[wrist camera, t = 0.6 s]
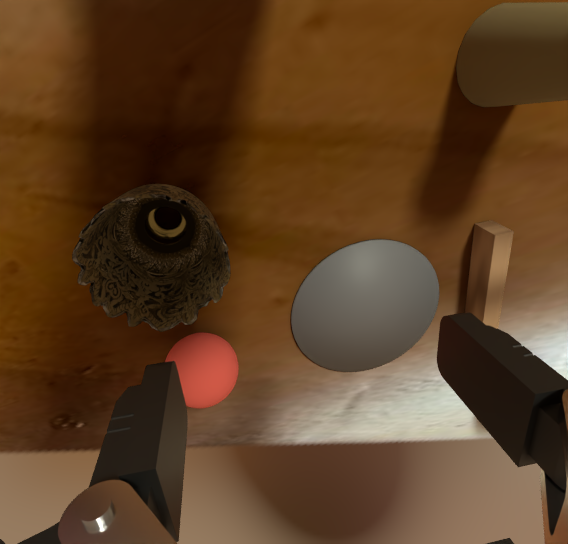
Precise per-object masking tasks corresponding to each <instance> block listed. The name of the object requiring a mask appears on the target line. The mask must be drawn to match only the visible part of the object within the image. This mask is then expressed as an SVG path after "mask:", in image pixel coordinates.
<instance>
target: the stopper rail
mask: <svg viewBox="0 0 568 544" xmlns="http://www.w3.org/2000/svg"><path fill="white" fill-rule="evenodd" d="M513 233H514V231H512V230H510V229H508V228H506V227H504V226H502V225H500V224H498V223H496V222H494V221H492V220H491V221H486V222H481V223H476V224H475V225H474V234H473V243H472V252H471V261H470V270H469V279H468V288H467V297H466V306H465V313H466V312H469V313H472V314H473V315H474V316H476V317H477V318H478V319H479V320H480V321H482V322H483V323H484V324H485V325H487V326H488V325H490V326H492V327H494V328H496V329H498V325H499V319H500V312H501V306H502V300H503V294H504V288H505V282H506V276H507V270H508V263H509V257H510V251H511V245H512V239H513Z"/></svg>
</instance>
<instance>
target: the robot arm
mask: <svg viewBox="0 0 568 544" xmlns="http://www.w3.org/2000/svg"><path fill="white" fill-rule="evenodd" d="M437 364H438V368H439V371H440V373H441V375H442V377H443V378H444V380H445V381H446V382H447V383H448V384H449V386H450V387H451V388H452V389H453V390H454V391H455V393H456V394H457V395H458V396H459V397H460V399H461V400H462V401H463V402H464V403H465V405H466V406H467V407H468V408H469V409H470V411H471V412H472V413H473V414H474V415H475V416H476V418H477V419H478V420H479V421H480V422H481V424H482V425H483V426H484V427H485V428H486V430H487V431H488V432H489V433H490V434H491V436H492V437H493V438H494V439H495V440H496V441H497V443H498V444H499V445H500V446H501V447H502V449H503V450H504V451H505V452H506V453H507V454H508V456H509V457H510V458H511V459H512V460H513V462H514V463H515V464H516V465H517V466H518V467H521V466H525V465H530V464H535V463H537V464H538V465H539V466H540V467H541V468H542V472H541V475H540V488H541V500H542V514H543V527H544V540H545V544H568V380H566V379H565V378H564V377H563V376H561V375H560V374H559V373H557V372H556V371H555V370H554V369H552V368H551V367H550V366H549V365H547V364H546V363H545V362H543V361H542V360H541V359H540V358H538V357H537V356H536V355H534V356H533V354H532V352H531V351H529V350H528V349H527V348H525V347H524V346H521V344H520V343H519V342H518V341H516V340H515V339H514V338H513V337H511V336H510V335H509V334H508V333H505V332H503V331H501V330H499V329H496V328H494V327H492V326H490V325H488V326H487V325H485V324H484V323H483V322H482V321H480V320H479V319H478V318H477V317H476V316H474V315H473V314H472V313H469V312H466V313H460V314H454V315H448V316H444V317H443V318H442V319H441V322H440V331H439V341H438V351H437ZM186 437H187V409H186V403H185V398H184V394H183V390H182V386H181V382H180V378H179V374H178V370H177V366H176V363H175V361H169V362H163V363H157V364H151V365H147V366H146V368H145V372H144V376H143V380H142V384H141V385H137V386H132V387H128V388H127V389H126V391H125V392H124V393H123V394H122V395H121V397H120V398H119V399H118V400H117V402H116V404H115V407H114V410H113V414H112V417H111V421H110V423H109V426H108V429H107V434H106V435H105V438H104V442H103V445H102V448H101V451H100V454H99V457H98V460H97V463H96V466H95V470H94V473H93V476H92V480H91V482H90V485H89V488H87V489H86V490H84V491H83V492H82V493H81V494H79V495H78V496H77V497H76V498H75V499H74V500H73V501H72V502H71V503H70V504H69V505H68V507H67V508H66V510H65V511H64V513H63V515H62V517H61V519H60V522H58V523H57V524H55V525H54V526H52V527H50V528H48V529H46V530H44V531H42V532H40V533H38V534H36V535H34V536H32V537H30V538H28V539H26V540H24V541H22V542H20V543H18V544H177V543H176V542H178V541H179V528H180V515H181V502H182V489H183V476H184V475H183V474H184V463H185V450H186ZM0 544H5V543H4V542H3V541H2V540H1V539H0ZM487 544H514V543H513V542H512V540H511V539H510V538H507V539H503V540H499V541H495V542H491V543H487Z"/></svg>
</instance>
